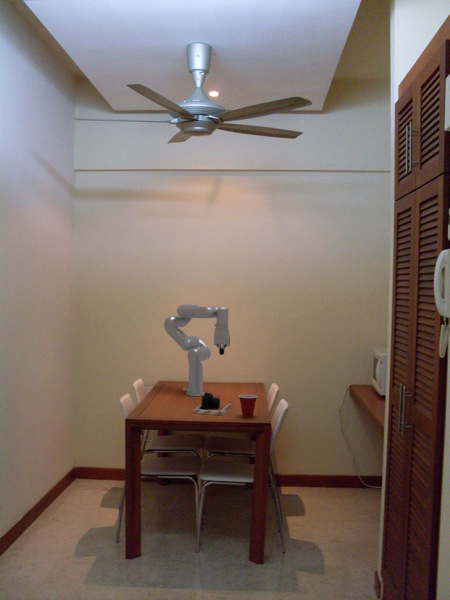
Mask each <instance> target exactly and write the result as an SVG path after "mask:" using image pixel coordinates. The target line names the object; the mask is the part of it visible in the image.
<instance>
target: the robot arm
mask: <svg viewBox="0 0 450 600" xmlns="http://www.w3.org/2000/svg"><path fill="white" fill-rule="evenodd" d="M176 313H177V315H176V314H175V315H170V316H167V317H166V318H165V319H164V322H163V326H164V330H165V332H166V334H167V335H168V336H169V337H170V338H171V339H173V341H174V342H175V344H177V345H178V347H180V348H181V349H182V351H185V352H187V362H188V387H185V386H184V387H182V391H183V392H185V395H186V396H189V397H202V396H204V394H205V393H206V392H204V391H203V390H204V388H203V387H204V368H203V367H204V366H203V363H202V362H204V361H207V360H209V359H210V358H211V355H212V353H211V352H212V351H211V350H210V348H209V346H207V344H205V343H204V341H203V340H202V339H201V338H200V337H198V336H194V335H191V336H188V335H187V334H186V333H185V332H184V331H183V330H181V328H183V327H186V326H187V325H188V324H189V323H190V322H191V321H192V320H193V319H195V318H196V319H215V318H216V324H214V326H213V327H215V328H214V333H213V346H216V347H217V348H218V349H219V350H218V353H219V355H220V356H223V355H225V348H227V347H230V346H231V335H230V334H231V333H230V328H229V308H228V307H225V306H221V307H220V306H217V305H216V306H215V305H214V306H200V305H198V304H191V303H189V304H188V303H187V304H180V305H179V306H177V309H176Z"/></svg>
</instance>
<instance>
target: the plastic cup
mask: <svg viewBox="0 0 450 600" xmlns="http://www.w3.org/2000/svg"><path fill="white" fill-rule="evenodd" d="M238 398H239V401H240V410H241V415H242V417H243V418H252V417H254V412H255V408H256V401H257V398H258V396H257V395H255V394H241V395H238Z"/></svg>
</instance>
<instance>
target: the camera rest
mask: <svg viewBox="0 0 450 600" xmlns="http://www.w3.org/2000/svg"><path fill="white" fill-rule="evenodd" d="M201 408H202V403H201V404H199V405H198V406H196V407H195V408H194V409H193V412H192V413H193V414H200V415H212V416H223V415H224V414H225V413H226V412H227V411H229V410H230V409H231V408H232V403H228V404H227V405H226V406H224V407H223V408H222V409H221V410H211V409H208V410H202V409H201Z"/></svg>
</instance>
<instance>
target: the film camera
mask: <svg viewBox="0 0 450 600" xmlns="http://www.w3.org/2000/svg"><path fill="white" fill-rule="evenodd" d="M201 404H202V408H201V410H210V409H220V408H221V407H220V406H221V399H220V398H219V397H214V394H213V393H211V392H210V393H209V392H205V394H204V395H203V396H201Z"/></svg>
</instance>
